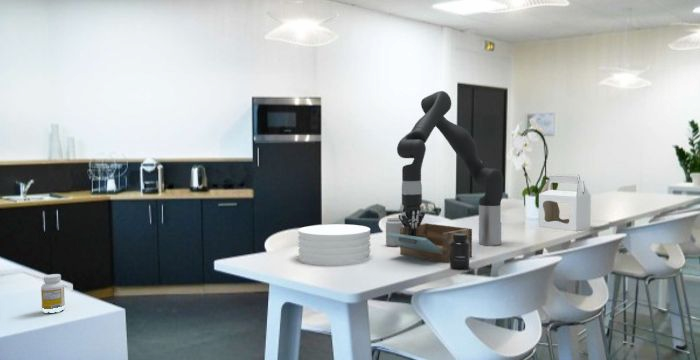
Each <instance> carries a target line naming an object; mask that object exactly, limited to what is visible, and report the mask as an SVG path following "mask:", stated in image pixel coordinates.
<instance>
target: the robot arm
mask: <svg viewBox="0 0 700 360" xmlns="http://www.w3.org/2000/svg"><path fill="white" fill-rule="evenodd" d="M420 105H421V106H420V107H421V109H422V111H423V113H424V115H423V116H422V117H421V118H419V119H418V121H416V123H415V124H414V126H413V127H412V128H411V130H410V132H408V133H407V134H405V135H404V137H402V138H401V139H400V140H399V142H398V144H397V147H396V153H397V154H398V156H399V157H400V158H402V159H413V161H412V162H411V163H409V164H405V165H403V166H402V169H401V172H402V173H401V177H402V181H401V182H402V183H401V205H402V207H403V209H402V213H401V214H398V217H397V218H399V219H400V221H401V222H402V224H403V227H407V228H408V235H409V236H416V228H417V227H418V226H420V224H422V222H423V220H424V218H425V215H426V213H425V212H424V211H422V208H421V206H422V204H423V196H422V195H423V187H422V186H423V185H422V167H423V161H424V158H425V155H426V150H427V148H426V147H427V146H426V142H427V141H428V139H429V137H430V135H431V134H432V132H433V130H434V129H435V127H436V128H437V129H438V131H439V132H440V133H441V134H442V136H443V137H444V139H445V140H446V141H447V142H448V144H449V145H450V147H451V148H452V150H453V151H454V152H455V153H456V154H457V156H458V157H459V159H460V161H462V164H463V165H465V167H466V169H467V170H468V172H469V174H470V176H471V177H472V179H473V181H474V183H475V184H476V185H477V186H478V187H479V188H480V189H483V190H485V193H484V195H483V196H482V197H479V199H478V244H479V245H482V246H492V247H493V246H500V245H501V244H502V221H501V219H502V218H501V215H502V214H501V208H502V207H501V206H502V205H501V202H502V200H503V195H504V174H503V173H502V171H501V170H500V169H498V168H490V167H489V168H488V167H486V166H485V165H484V164H483V162H482V161H481V159H480V157H479V155H478V154H479V153H478V147H477V144H476V141H475V139H474V138H473V137H472V135H471V134H470V132H468V130H466V129H465V128H464V127H462V126H459V125H457V124H456V123H453V122H452V121H450V120H449V119H447V118H446V117H445V116H446V114H447V113H448V112H449V111H450V110H451V108H452V99H451V96H450V95H449V94H448V93H447V92H446V91H445V90H444V91H443V90H439V91H437V92H434V93H431V94H430V95H427V96H425V97H424V98H422V100H421V101H420Z"/></svg>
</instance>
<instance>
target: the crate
mask: <svg viewBox="0 0 700 360" xmlns="http://www.w3.org/2000/svg"><path fill="white" fill-rule="evenodd" d="M457 233H461V234H467V240H466V241H467V242H468V243H469V244H470V257H469V258H472V256H473V228H469V227H459V226H452V225H442V224H436V223H426V222H425V223H421V224H420V226H418V227H417V228H416V237H423V238H427V239H428V240H430V241H431V242H432V243H433V244H435V245H436V246H437V247H438V248H440V249H441V250H442V253H437V252H431V251H425V250H419V249H413V248H407V247H403V246H402V245H401V244H400V246H399V247H400V251H399V252H400V253H399V254H400V255H401V256H408V257H413V258H418V259H421V260H423V259H424V260H429V261H433V262H440V263H445V264H447V263H450V244H451V242H452V241H454V239H453V234H457ZM400 234H402V235H408V228H407V227H404V226H403V227H400Z"/></svg>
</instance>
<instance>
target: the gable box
mask: <svg viewBox="0 0 700 360" xmlns="http://www.w3.org/2000/svg"><path fill="white" fill-rule="evenodd" d="M554 183H555V184H556V183H557V184H574V185H577V188H576V189H577V190H564V189H554V188H553V187H554V186H553V184H554ZM591 199H592V195H591V193H590V191H589V189H588V188H587V186H586V185H585V181H583V180H581V177H580V175H579V174H571V173H569V174H567V173H550V175H549V176H548V179H545V184H544V185H543V186H542V189H541V190H540V192H539V194H538V227H539V228H546V229H553V230H554V229H555V230H563V231H571V232H572V231H573V232H579V231H584V230H585V231H586V230H590V229H591V204H592V202H591V201H592V200H591ZM558 203H559V204H562V203H566V204H570V206H571V209H570V211H569V215H568V218H566V219H565V218H564V219H562V218H560V214H561V213H560V212H561V211H560V208H559V205H558Z"/></svg>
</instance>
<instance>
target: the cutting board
mask: <svg viewBox="0 0 700 360" xmlns="http://www.w3.org/2000/svg"><path fill="white" fill-rule="evenodd" d="M388 235H389V236H390V237H391V238H393V239H394V240H395V241H397V242H398V243H399V244H401V245H402V246H403V247H407V248H413V249H419V250H425V251H431V252H437V253H442V250H441V249H440V248H438V247H437V246H436V245H435V244H433V243H432V242H431V241H430V240H428V239H427V238H423V237H416V236H409V235H402V234H396V233H388Z"/></svg>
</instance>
